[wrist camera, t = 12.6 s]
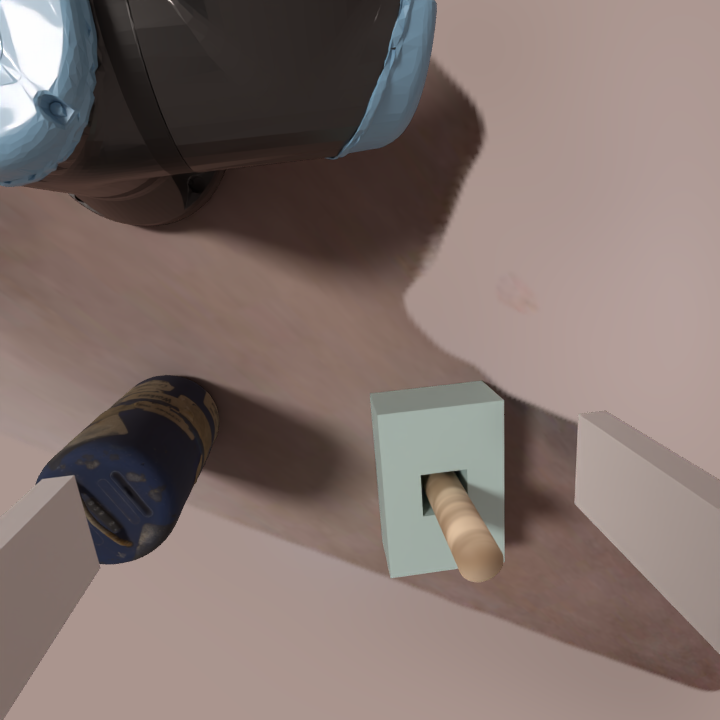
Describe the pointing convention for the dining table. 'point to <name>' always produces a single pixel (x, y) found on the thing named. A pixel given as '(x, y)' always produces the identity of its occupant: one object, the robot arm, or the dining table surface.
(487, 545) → the peg
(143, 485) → the canister
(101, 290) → the dining table surface
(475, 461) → the socket block
